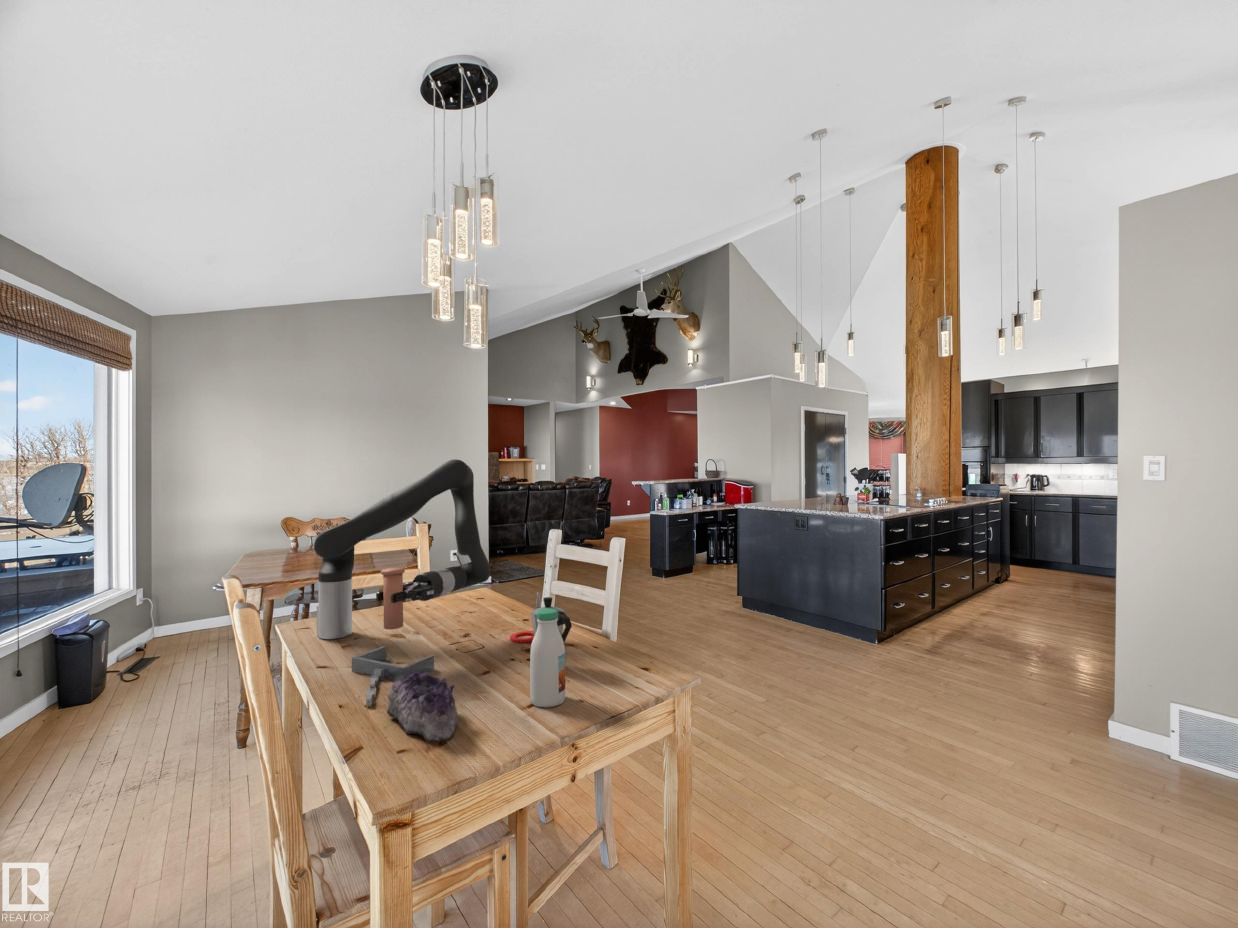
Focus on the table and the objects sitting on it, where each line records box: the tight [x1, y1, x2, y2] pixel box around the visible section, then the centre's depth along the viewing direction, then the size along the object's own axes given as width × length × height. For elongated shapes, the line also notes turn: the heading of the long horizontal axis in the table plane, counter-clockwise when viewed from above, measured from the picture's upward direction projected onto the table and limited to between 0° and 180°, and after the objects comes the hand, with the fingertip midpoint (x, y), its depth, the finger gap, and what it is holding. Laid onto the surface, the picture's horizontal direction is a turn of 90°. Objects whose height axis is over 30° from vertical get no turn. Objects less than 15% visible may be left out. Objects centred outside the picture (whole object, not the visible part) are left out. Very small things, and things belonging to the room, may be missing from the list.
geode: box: [386, 671, 459, 744], centre depth 112 cm, size 20×12×10 cm, turn 43°
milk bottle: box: [529, 609, 566, 708], centre depth 121 cm, size 8×8×20 cm
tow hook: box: [509, 592, 542, 644], centre depth 166 cm, size 9×14×10 cm
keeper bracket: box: [351, 645, 435, 682], centre depth 140 cm, size 18×11×4 cm, turn 65°
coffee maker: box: [530, 596, 573, 643], centre depth 141 cm, size 15×9×18 cm, turn 47°
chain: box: [365, 675, 380, 708], centre depth 127 cm, size 2×17×2 cm, turn 20°
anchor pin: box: [380, 567, 406, 630], centre depth 140 cm, size 6×6×15 cm
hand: (384, 597), depth 138 cm, fingers closed on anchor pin, 4 cm apart
